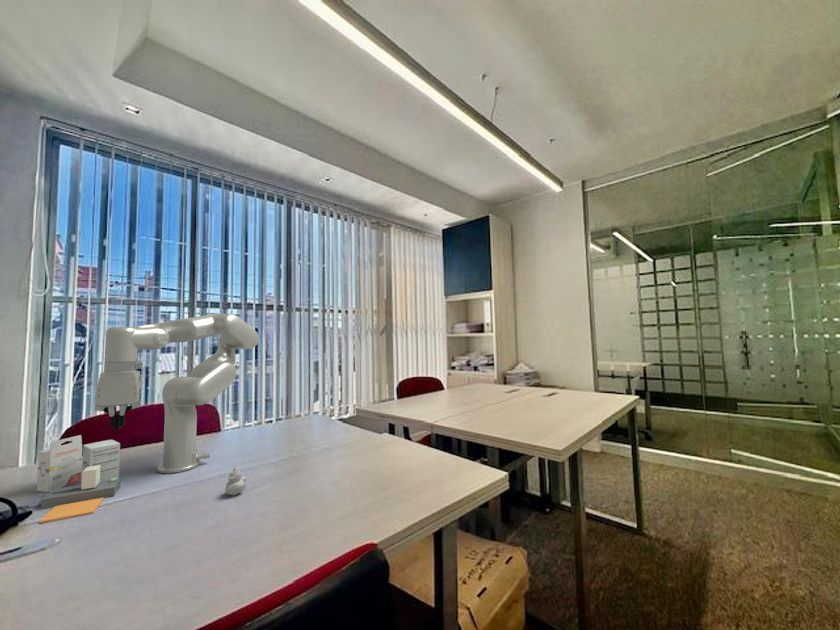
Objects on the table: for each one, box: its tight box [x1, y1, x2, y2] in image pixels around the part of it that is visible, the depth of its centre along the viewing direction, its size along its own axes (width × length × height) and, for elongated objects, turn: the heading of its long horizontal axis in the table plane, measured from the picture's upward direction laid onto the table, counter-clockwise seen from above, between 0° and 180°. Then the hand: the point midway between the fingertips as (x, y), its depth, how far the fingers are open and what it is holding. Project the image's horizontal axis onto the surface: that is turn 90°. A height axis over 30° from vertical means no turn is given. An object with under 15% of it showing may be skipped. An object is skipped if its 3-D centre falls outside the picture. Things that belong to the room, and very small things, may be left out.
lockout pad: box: [39, 497, 105, 525], centre depth 92 cm, size 10×9×1 cm
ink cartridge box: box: [36, 434, 83, 493], centre depth 107 cm, size 9×5×15 cm, turn 168°
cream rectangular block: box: [80, 465, 101, 490], centre depth 100 cm, size 3×4×5 cm
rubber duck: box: [224, 466, 247, 496], centre depth 102 cm, size 5×7×8 cm
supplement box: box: [80, 439, 121, 485], centre depth 108 cm, size 7×7×13 cm
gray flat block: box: [40, 477, 122, 510], centre depth 99 cm, size 15×7×3 cm, turn 119°
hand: (117, 428), depth 104 cm, fingers closed
